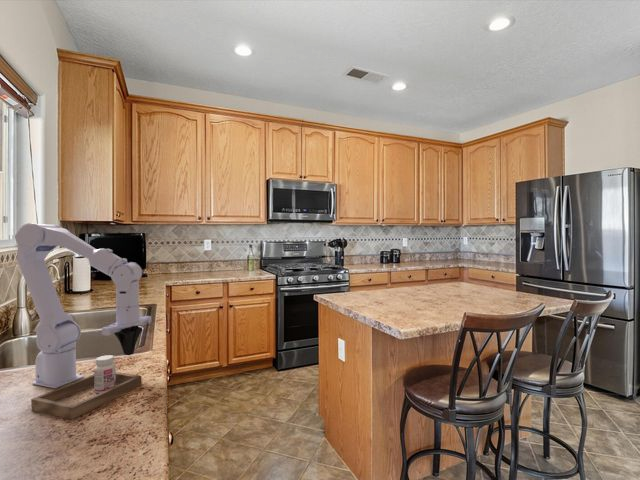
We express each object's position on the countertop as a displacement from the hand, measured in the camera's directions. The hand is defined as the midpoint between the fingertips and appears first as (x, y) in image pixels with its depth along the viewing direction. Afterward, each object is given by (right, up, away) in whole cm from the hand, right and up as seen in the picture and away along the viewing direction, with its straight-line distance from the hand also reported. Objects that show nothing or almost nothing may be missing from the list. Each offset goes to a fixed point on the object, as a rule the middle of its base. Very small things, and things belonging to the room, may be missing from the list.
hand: (128, 354), depth 99 cm
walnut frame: (-4, -7, -11) cm, 13 cm away
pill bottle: (-2, -7, -7) cm, 10 cm away
